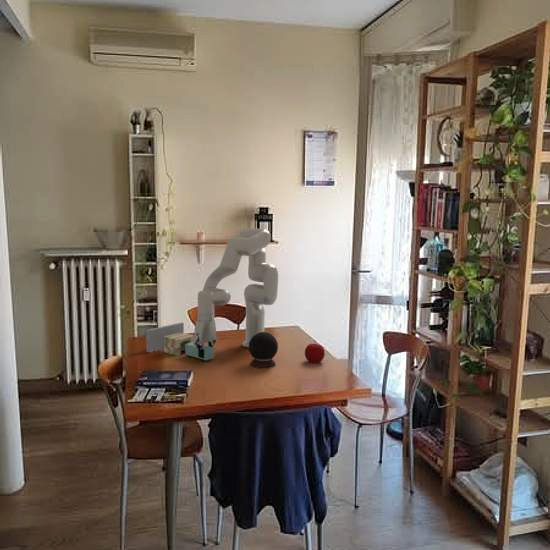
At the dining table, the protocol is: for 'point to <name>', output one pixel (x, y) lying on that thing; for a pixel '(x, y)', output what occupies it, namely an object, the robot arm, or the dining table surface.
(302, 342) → the dining table surface
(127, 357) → the dining table surface
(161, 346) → the wall
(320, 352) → the apple
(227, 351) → the dining table surface
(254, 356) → the snow globe
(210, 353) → the peg
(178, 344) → the block
